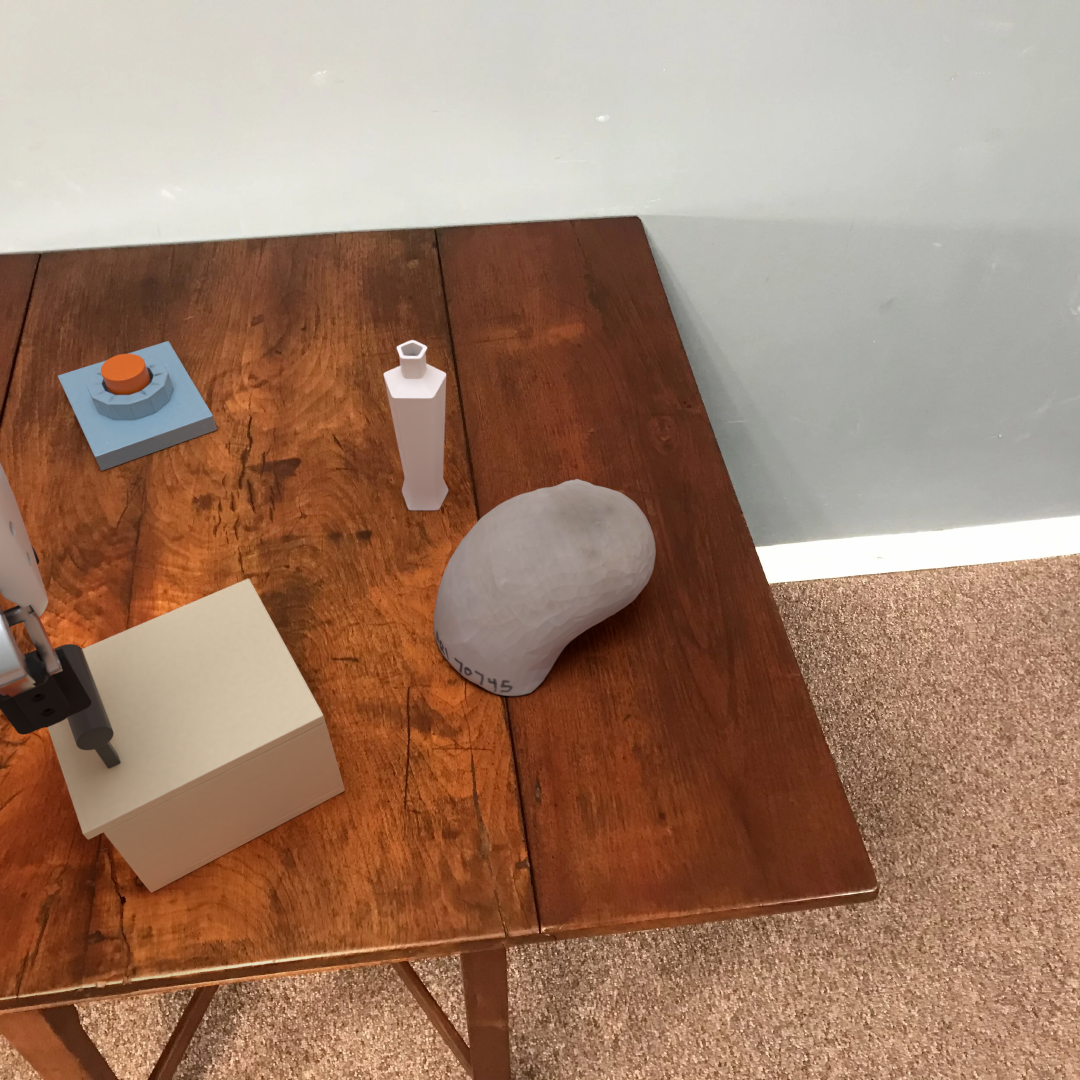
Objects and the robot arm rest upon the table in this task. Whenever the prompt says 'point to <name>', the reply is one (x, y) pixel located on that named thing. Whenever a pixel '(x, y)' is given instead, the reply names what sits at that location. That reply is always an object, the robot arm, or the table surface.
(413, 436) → the perfume bottle
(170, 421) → the box
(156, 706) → the lid
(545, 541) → the grey rounded lump
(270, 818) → the chest
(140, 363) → the button
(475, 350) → the table surface
